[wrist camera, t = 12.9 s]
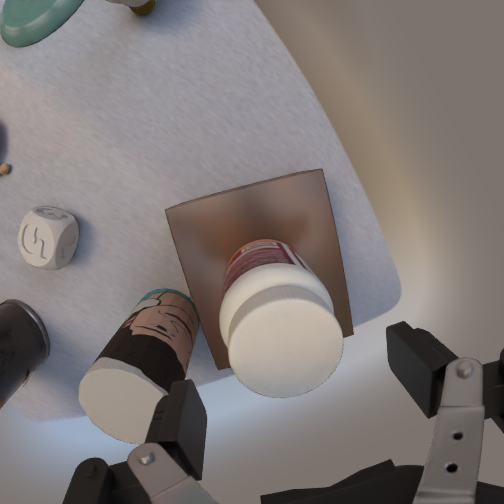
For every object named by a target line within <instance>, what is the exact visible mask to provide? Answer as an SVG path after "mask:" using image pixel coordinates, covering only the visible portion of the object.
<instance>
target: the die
mask: <svg viewBox="0 0 504 504" xmlns="http://www.w3.org/2000/svg"><path fill="white" fill-rule="evenodd" d="M78 238H79V228H78V224H77V222H76V220H75V218H74V216H73V215H71V214H70V213H68V212H66V211H63V210H60V209H56V208H52V207H43V206H40V207H34V208H32V209H31V210H30V211H29V212H28V213H27V214H26V215H25V217H24V218H23V220H22V222H21V225H20V227H19V231H18V245H19V249H20V252H21V254H22V256H23V258H24V259H25V260H26V262H28V263H29V264H30V265H32V266H34V267H37V268H40V269H45V270H57V269H61V268H63V267H65V266H66V265H67V264H68V263H69V261H70V260H71V258H72V256H73V254H74V252H75V249H76V247H77V243H78Z"/></svg>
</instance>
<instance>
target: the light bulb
mask: <svg viewBox="0 0 504 504" xmlns="http://www.w3.org/2000/svg"><path fill="white" fill-rule="evenodd" d="M106 1H108V2H112V3H117V4H124V5H126V6H129V8H130V9H131V10H132V11H133V12H134V13H135V14H145V13H147V12H149V11H150V10H152V9H153V7H154V5H155V0H106Z"/></svg>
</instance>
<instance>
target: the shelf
mask: <svg viewBox="0 0 504 504" xmlns="http://www.w3.org/2000/svg"><path fill="white" fill-rule="evenodd" d="M165 213H166V216H167V220H168V223H169V227H170V230H171V233H172V237H173V240H174V243H175V247H176V250H177V253H178V256H179V260H180V263H181V266H182V269H183V272H184V275H185V278H186V281H187V285H188V288H189V291H190V294H191V297H192V300H193V303H194V305H195V308H196V311H197V314H198V317H199V320H200V323H201V326H202V329H203V331H204V334H205V337H206V340H207V343H208V345H209V348H210V351H211V353H212V356H213V359H214V361H215V364H216V367H217V369H218V370H221V369H226V368H231V366H230V362H229V357H228V348H227V346H226V345H225V343H224V340H223V338H222V335H221V331H220V322H219V313H220V307H221V301H222V292H223V284H224V276H225V271H226V268H227V265H228V263H229V261H230V259H231V258H232V256H233V255H234V254H235V253H236V252H237V251H238V250H239V249H240V248H242V247H243V246H245V245H246V244H248V243H251V242H253V241H257V240H263V239H270V240H276V241H279V242H282V243H284V244H286V245H288V246H290V247H291V248H292V249H294V250H295V251H296V252H297V253H298V254H299V255H300V257H301V258H302V259H303V260H304V261H305V263H306V264H307V265H308V266H309V268H310V269H311V270H312V271H313V272H314V274H315V275H316V276H317V277H318V278H319V280H320V281H321V282H322V283H323V285H324V286H325V288H326V290H327V291H328V293H329V295H330V298H331V300H332V304H333V309H334V316H335V318H336V319H337V321H338V323H339V325H340V328H341V330H342V334H343V338H345V337H348V336H351V335H353V334H354V332H353V325H352V318H351V311H350V305H349V298H348V292H347V286H346V280H345V274H344V269H343V263H342V258H341V252H340V247H339V242H338V237H337V232H336V227H335V222H334V218H333V213H332V208H331V204H330V199H329V195H328V190H327V186H326V182H325V178H324V173H323V169H314V170H307V171H302V172H297V173H293V174H289V175H285V176H280V177H276V178H272V179H268V180H264V181H260V182H256V183H252V184H248V185H245V186H241V187H237V188H233V189H229V190H226V191H222V192H218V193H215V194H211V195H208V196H204V197H201V198H197V199H194V200H190V201H187V202H183V203H180V204H178V205H175V206H173V207H170V208H168V209H165Z"/></svg>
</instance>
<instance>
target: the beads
mask: <svg viewBox="0 0 504 504" xmlns="http://www.w3.org/2000/svg"><path fill="white" fill-rule="evenodd" d="M9 167H10V166H9V165H8V164H6V163H3V164H1V166H0V173H1V174H6V173H7V172H8V171H9Z"/></svg>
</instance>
